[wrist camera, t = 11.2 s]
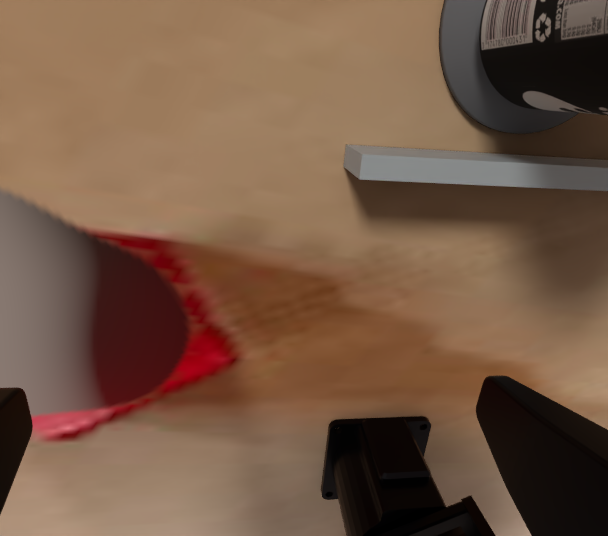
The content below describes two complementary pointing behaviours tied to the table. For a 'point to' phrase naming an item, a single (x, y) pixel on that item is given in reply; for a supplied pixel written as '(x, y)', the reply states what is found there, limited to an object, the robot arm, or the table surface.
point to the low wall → (475, 168)
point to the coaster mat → (482, 75)
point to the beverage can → (547, 53)
